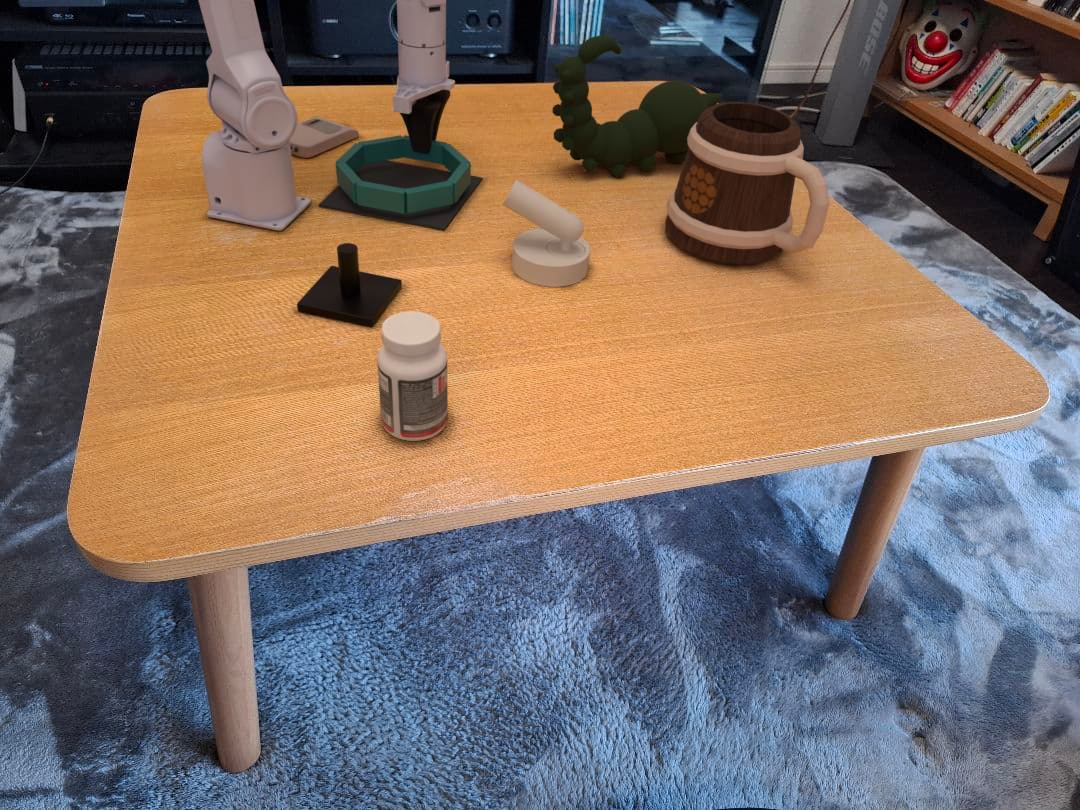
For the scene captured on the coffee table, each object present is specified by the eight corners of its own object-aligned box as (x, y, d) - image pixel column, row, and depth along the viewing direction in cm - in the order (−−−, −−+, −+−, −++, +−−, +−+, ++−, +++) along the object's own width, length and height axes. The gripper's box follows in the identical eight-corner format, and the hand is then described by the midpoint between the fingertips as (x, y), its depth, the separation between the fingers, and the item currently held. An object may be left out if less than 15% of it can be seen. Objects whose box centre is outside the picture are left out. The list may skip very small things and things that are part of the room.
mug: (636, 228, 105) (655, 107, 96) (718, 199, 113) (743, 85, 104) (762, 303, 94) (798, 174, 85) (843, 265, 102) (885, 143, 92)
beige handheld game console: (368, 133, 122) (367, 112, 120) (286, 168, 111) (284, 146, 109) (332, 121, 124) (331, 100, 122) (250, 154, 114) (246, 132, 112)
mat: (318, 206, 104) (318, 204, 104) (368, 158, 115) (368, 156, 115) (444, 230, 101) (444, 228, 101) (482, 179, 113) (482, 177, 113)
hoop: (320, 197, 103) (318, 177, 101) (371, 147, 114) (370, 128, 113) (442, 221, 101) (442, 200, 99) (481, 167, 112) (482, 148, 110)
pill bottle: (457, 411, 76) (459, 317, 70) (431, 451, 72) (429, 355, 66) (399, 394, 77) (395, 301, 71) (369, 432, 73) (362, 337, 67)
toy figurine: (572, 201, 114) (733, 165, 121) (575, 55, 101) (754, 25, 108) (543, 171, 120) (698, 139, 127) (542, 31, 107) (714, 3, 115)
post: (297, 311, 86) (290, 259, 83) (331, 273, 92) (327, 222, 89) (372, 327, 85) (369, 275, 81) (402, 287, 91) (400, 236, 87)
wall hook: (513, 163, 95) (602, 177, 94) (509, 240, 101) (593, 254, 100) (494, 196, 88) (590, 211, 87) (491, 277, 94) (581, 292, 93)
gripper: (432, 63, 97) (433, 176, 106) (472, 29, 108) (470, 133, 117) (374, 54, 98) (379, 166, 107) (419, 21, 109) (421, 125, 118)
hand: (423, 149), depth 112 cm, fingers closed on hoop
